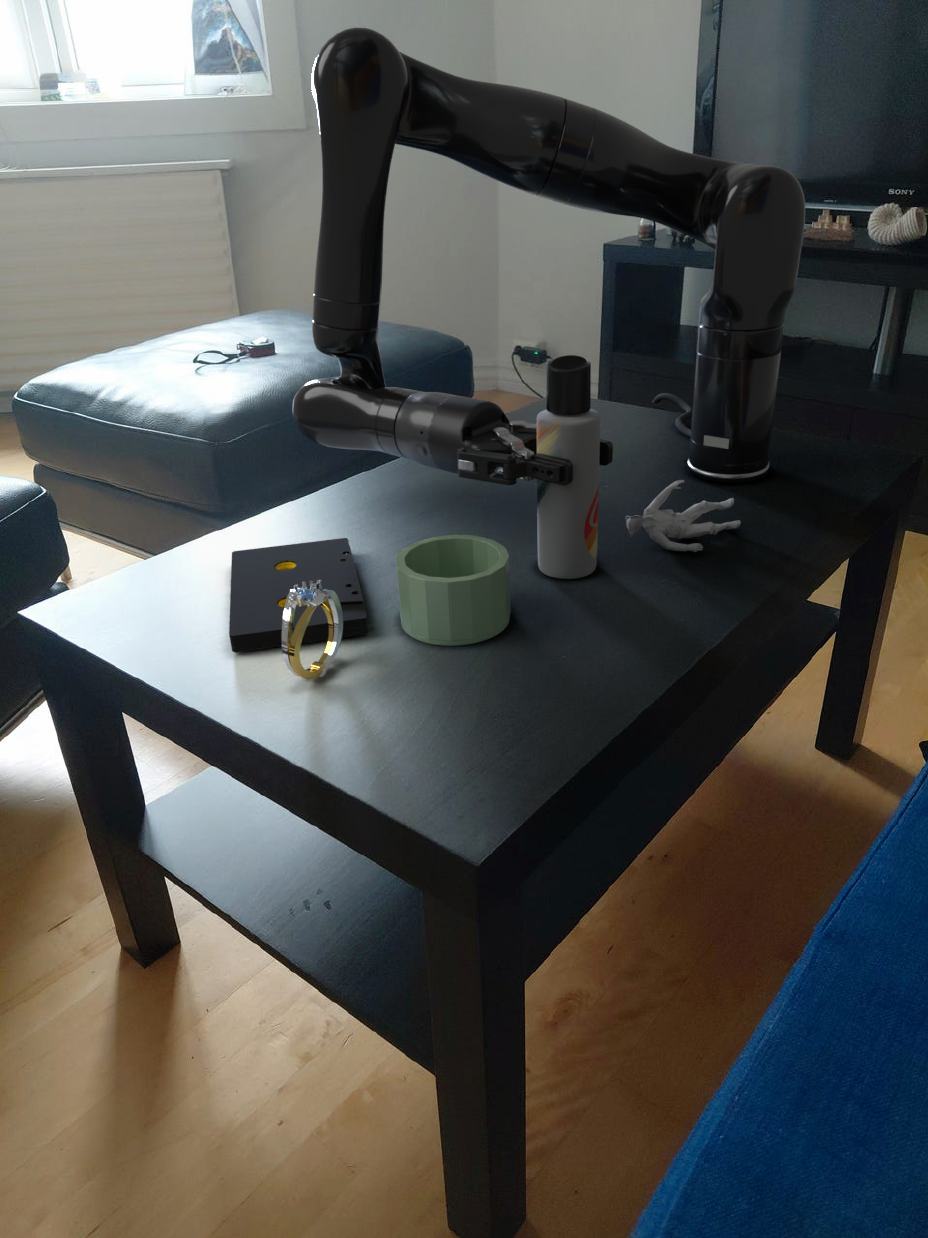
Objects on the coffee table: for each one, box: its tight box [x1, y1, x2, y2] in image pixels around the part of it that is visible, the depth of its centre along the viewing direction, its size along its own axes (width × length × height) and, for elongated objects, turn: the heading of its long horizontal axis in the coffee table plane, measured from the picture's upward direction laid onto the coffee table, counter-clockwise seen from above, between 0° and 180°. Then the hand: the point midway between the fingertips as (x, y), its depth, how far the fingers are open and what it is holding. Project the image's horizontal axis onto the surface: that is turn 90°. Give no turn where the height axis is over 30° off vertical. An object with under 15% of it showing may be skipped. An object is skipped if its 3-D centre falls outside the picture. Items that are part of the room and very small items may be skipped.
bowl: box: [394, 533, 512, 647], centre depth 82 cm, size 10×10×6 cm
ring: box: [281, 580, 343, 680], centre depth 74 cm, size 7×3×8 cm, turn 151°
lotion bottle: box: [536, 354, 601, 580], centre depth 87 cm, size 6×6×20 cm
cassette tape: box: [228, 537, 369, 653], centre depth 87 cm, size 18×12×2 cm, turn 12°
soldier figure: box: [624, 479, 742, 553], centre depth 95 cm, size 8×5×12 cm
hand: (590, 463), depth 85 cm, fingers closed on lotion bottle, 5 cm apart
